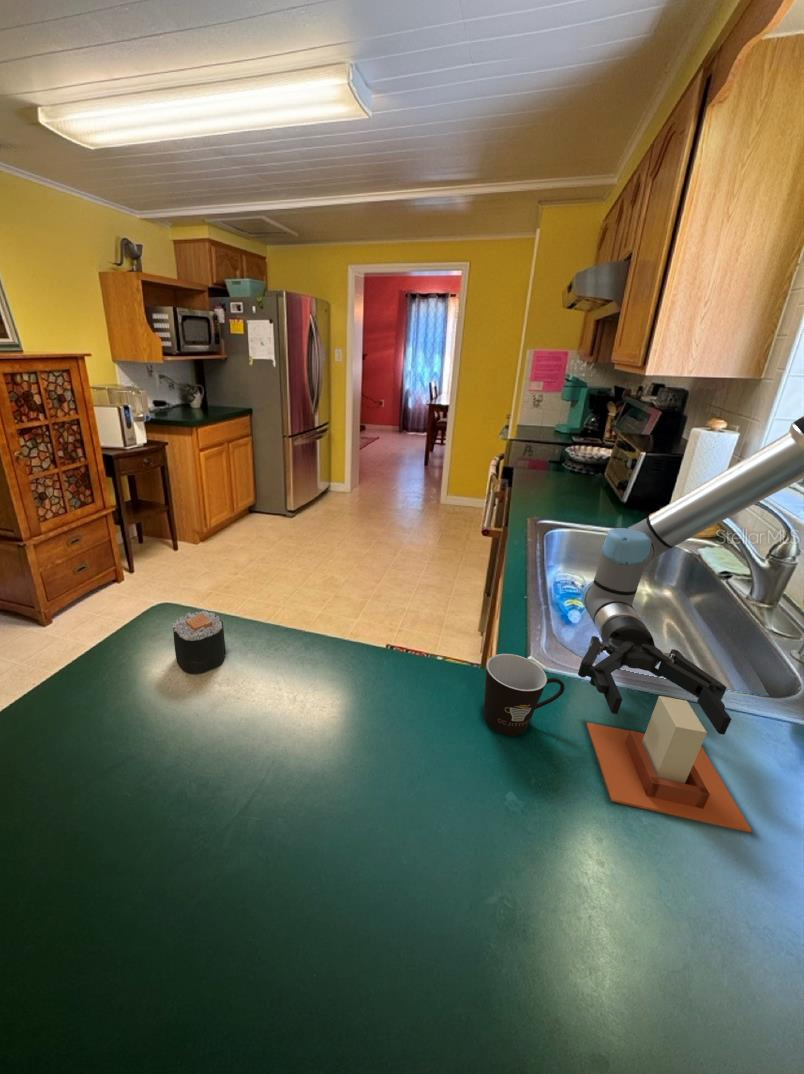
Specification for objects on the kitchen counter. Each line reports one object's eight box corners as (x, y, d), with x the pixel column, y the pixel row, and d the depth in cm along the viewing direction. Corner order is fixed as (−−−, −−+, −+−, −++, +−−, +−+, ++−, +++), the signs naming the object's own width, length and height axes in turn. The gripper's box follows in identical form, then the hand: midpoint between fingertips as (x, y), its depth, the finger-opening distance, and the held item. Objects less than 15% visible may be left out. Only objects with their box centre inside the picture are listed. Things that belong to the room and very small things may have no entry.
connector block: (664, 755, 68) (687, 700, 64) (681, 790, 62) (707, 732, 59) (638, 750, 68) (659, 695, 65) (653, 784, 63) (676, 726, 59)
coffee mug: (471, 733, 71) (482, 679, 68) (480, 698, 79) (490, 648, 75) (553, 760, 67) (569, 705, 64) (554, 720, 75) (568, 669, 71)
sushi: (210, 640, 89) (207, 603, 86) (232, 661, 84) (231, 623, 81) (168, 656, 84) (164, 617, 81) (189, 680, 79) (186, 639, 76)
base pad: (698, 750, 71) (706, 731, 69) (748, 837, 58) (760, 816, 57) (585, 728, 74) (590, 709, 72) (609, 806, 61) (617, 785, 60)
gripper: (693, 663, 83) (761, 756, 64) (545, 638, 88) (568, 718, 69) (707, 627, 81) (783, 713, 61) (554, 603, 85) (580, 676, 66)
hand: (670, 716), depth 65 cm, fingers open, 13 cm apart
